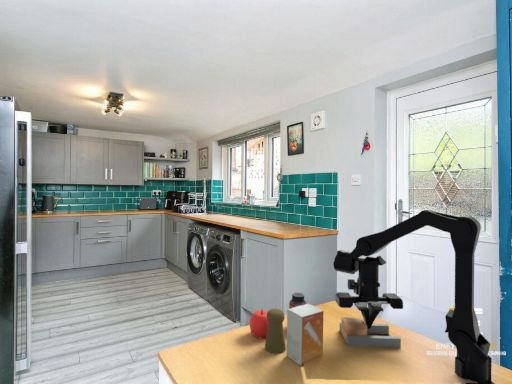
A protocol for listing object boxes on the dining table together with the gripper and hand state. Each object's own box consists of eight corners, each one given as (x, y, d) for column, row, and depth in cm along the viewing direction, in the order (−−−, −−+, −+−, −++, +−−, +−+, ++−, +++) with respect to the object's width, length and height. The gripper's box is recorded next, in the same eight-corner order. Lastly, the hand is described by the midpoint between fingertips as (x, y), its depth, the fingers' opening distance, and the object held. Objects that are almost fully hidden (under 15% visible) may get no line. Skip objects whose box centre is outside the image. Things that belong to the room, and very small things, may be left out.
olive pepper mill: (261, 350, 84) (261, 311, 84) (270, 341, 89) (270, 304, 89) (280, 356, 81) (281, 316, 81) (288, 346, 86) (289, 308, 87)
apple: (244, 335, 93) (244, 310, 93) (259, 326, 99) (259, 302, 99) (264, 343, 88) (264, 317, 88) (279, 333, 94) (279, 308, 94)
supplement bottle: (285, 326, 99) (285, 292, 99) (300, 322, 102) (300, 290, 102) (295, 333, 94) (295, 298, 94) (310, 330, 97) (310, 295, 97)
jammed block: (360, 333, 92) (360, 317, 92) (367, 343, 86) (367, 326, 86) (341, 333, 93) (341, 317, 93) (346, 342, 87) (346, 325, 87)
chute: (386, 334, 94) (386, 323, 94) (400, 351, 84) (400, 338, 84) (339, 333, 94) (339, 322, 94) (347, 349, 85) (348, 337, 85)
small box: (301, 367, 76) (302, 317, 76) (285, 355, 81) (286, 308, 81) (323, 357, 81) (324, 310, 81) (307, 347, 86) (307, 302, 86)
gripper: (388, 270, 97) (388, 317, 97) (331, 269, 98) (331, 316, 98) (404, 280, 86) (403, 334, 86) (340, 279, 87) (339, 332, 87)
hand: (368, 328), depth 89 cm, fingers closed
